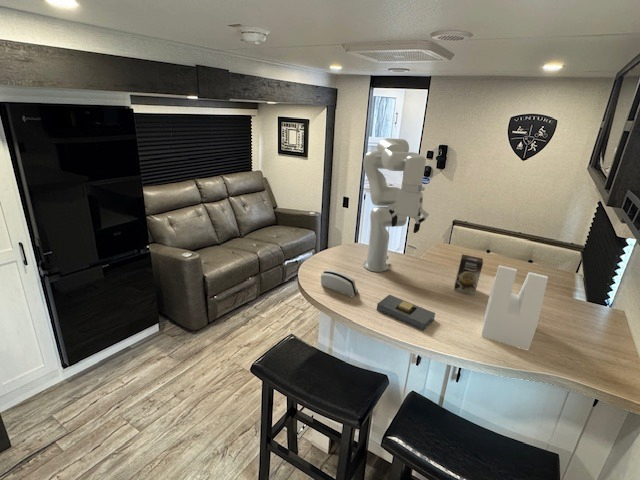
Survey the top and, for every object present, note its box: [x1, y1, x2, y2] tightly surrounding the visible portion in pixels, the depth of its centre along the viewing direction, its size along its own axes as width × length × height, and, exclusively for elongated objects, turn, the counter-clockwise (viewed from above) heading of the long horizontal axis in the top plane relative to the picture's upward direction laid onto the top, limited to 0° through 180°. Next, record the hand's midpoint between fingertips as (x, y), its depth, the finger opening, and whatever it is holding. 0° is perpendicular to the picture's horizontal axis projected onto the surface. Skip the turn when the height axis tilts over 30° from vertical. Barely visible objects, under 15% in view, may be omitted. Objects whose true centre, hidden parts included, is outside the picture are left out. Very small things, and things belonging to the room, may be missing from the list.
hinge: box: [320, 269, 359, 298], centre depth 153 cm, size 17×5×10 cm, turn 57°
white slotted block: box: [480, 264, 549, 350], centre depth 129 cm, size 19×15×25 cm
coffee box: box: [453, 253, 484, 296], centre depth 159 cm, size 9×6×16 cm
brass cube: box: [398, 300, 415, 315], centre depth 139 cm, size 4×4×4 cm
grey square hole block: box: [376, 294, 436, 332], centre depth 139 cm, size 10×20×3 cm, turn 51°
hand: (404, 229), depth 143 cm, fingers open, 9 cm apart
